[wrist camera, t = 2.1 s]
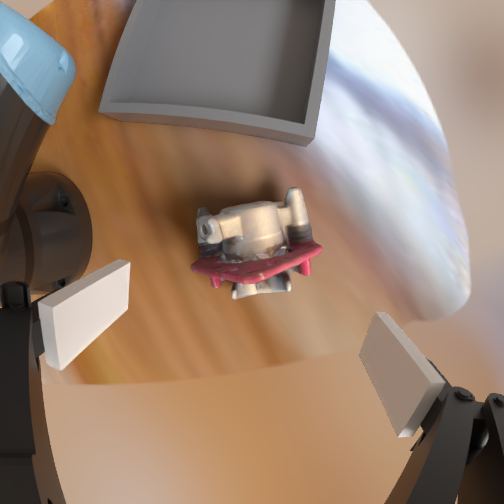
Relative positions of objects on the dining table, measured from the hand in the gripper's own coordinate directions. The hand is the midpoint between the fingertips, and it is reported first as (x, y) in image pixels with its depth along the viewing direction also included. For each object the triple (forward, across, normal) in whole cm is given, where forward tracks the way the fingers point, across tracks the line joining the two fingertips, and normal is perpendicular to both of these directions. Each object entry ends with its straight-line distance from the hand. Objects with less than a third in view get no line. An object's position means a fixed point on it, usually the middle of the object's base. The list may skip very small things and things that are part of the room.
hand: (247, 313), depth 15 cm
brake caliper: (+16, 0, +1) cm, 16 cm away
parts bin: (+16, -7, +21) cm, 27 cm away
